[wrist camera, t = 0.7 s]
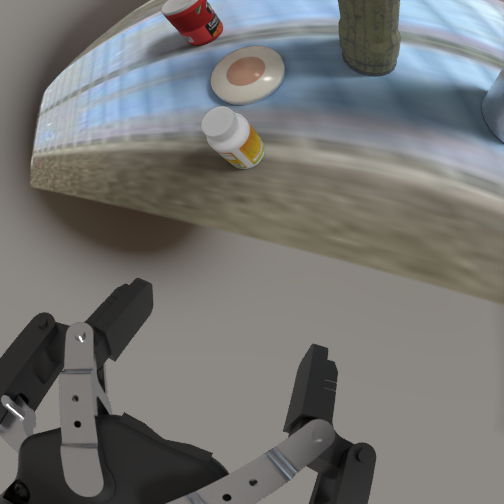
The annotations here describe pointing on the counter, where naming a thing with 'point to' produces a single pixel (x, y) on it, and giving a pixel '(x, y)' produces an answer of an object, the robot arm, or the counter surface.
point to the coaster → (248, 75)
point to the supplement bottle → (232, 137)
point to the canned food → (193, 20)
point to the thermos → (370, 35)
